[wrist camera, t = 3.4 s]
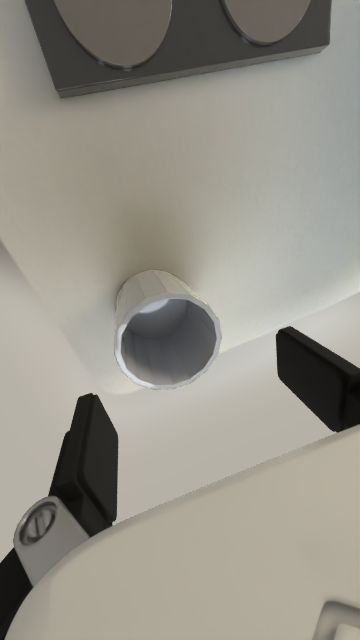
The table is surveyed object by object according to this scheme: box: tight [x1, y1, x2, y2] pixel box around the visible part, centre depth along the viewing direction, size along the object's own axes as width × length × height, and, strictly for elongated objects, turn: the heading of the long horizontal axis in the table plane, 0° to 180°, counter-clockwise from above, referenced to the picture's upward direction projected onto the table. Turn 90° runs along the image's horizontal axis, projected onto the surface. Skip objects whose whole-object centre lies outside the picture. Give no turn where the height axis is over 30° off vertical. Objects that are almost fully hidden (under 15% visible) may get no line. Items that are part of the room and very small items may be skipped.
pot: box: [114, 270, 222, 390], centre depth 19 cm, size 7×7×8 cm
